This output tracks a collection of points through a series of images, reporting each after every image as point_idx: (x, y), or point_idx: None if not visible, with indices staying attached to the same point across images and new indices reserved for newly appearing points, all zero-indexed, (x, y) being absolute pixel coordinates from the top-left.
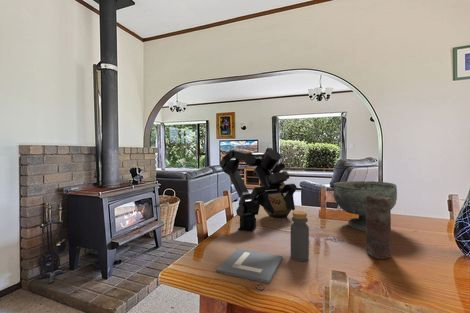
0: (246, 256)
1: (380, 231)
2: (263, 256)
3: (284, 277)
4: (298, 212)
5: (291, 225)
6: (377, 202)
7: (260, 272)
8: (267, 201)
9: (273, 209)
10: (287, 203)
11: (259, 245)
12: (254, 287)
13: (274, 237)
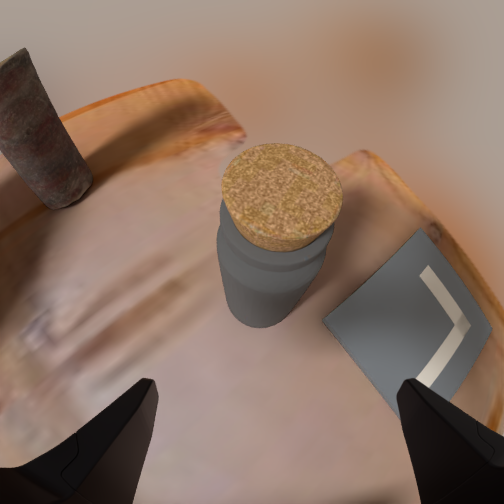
0: (426, 368)
1: (61, 123)
2: (384, 346)
3: (377, 231)
4: (294, 187)
5: (319, 262)
6: (29, 59)
7: (427, 266)
8: (490, 436)
9: (419, 393)
10: (131, 493)
11: (326, 456)
12: (443, 237)
13: (209, 491)
